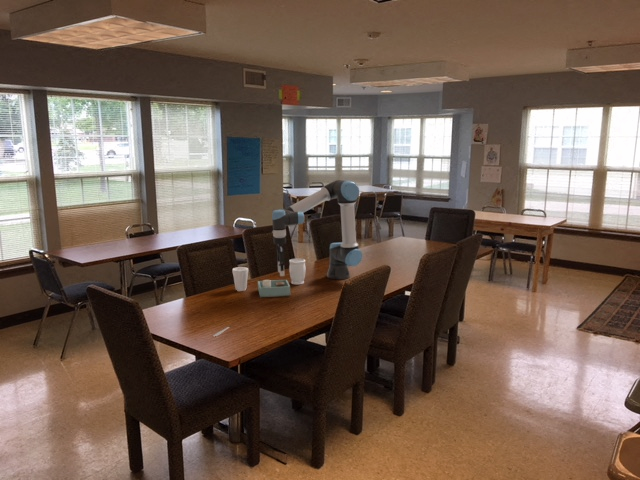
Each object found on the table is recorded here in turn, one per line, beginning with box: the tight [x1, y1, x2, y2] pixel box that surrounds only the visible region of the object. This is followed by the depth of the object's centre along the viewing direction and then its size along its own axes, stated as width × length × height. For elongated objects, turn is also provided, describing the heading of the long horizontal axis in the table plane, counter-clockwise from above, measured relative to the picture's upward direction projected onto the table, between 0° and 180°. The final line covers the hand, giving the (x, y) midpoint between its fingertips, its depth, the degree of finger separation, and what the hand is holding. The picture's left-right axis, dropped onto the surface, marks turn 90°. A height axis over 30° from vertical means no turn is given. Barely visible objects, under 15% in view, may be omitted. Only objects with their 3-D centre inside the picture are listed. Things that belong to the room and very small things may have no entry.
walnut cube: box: [276, 282, 285, 287], centre depth 303 cm, size 5×5×5 cm
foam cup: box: [232, 266, 249, 292], centre depth 308 cm, size 10×9×13 cm
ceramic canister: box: [262, 279, 271, 288], centre depth 301 cm, size 5×5×7 cm
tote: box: [257, 279, 291, 298], centre depth 302 cm, size 18×16×6 cm
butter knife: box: [212, 326, 230, 338], centre depth 247 cm, size 1×27×3 cm
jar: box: [288, 258, 307, 285], centre depth 322 cm, size 11×10×15 cm
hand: (281, 273), depth 302 cm, fingers open, 9 cm apart
